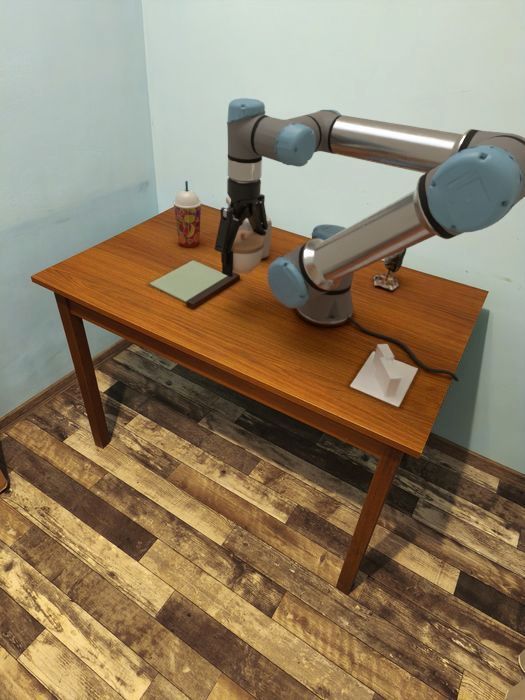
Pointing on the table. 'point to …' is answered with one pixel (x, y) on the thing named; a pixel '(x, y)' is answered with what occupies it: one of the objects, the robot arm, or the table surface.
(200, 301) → the divider
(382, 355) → the napkin holder
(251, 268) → the trinket box
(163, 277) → the mat
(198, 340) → the table surface
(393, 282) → the plant with pod
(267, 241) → the radio
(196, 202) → the smoothie
